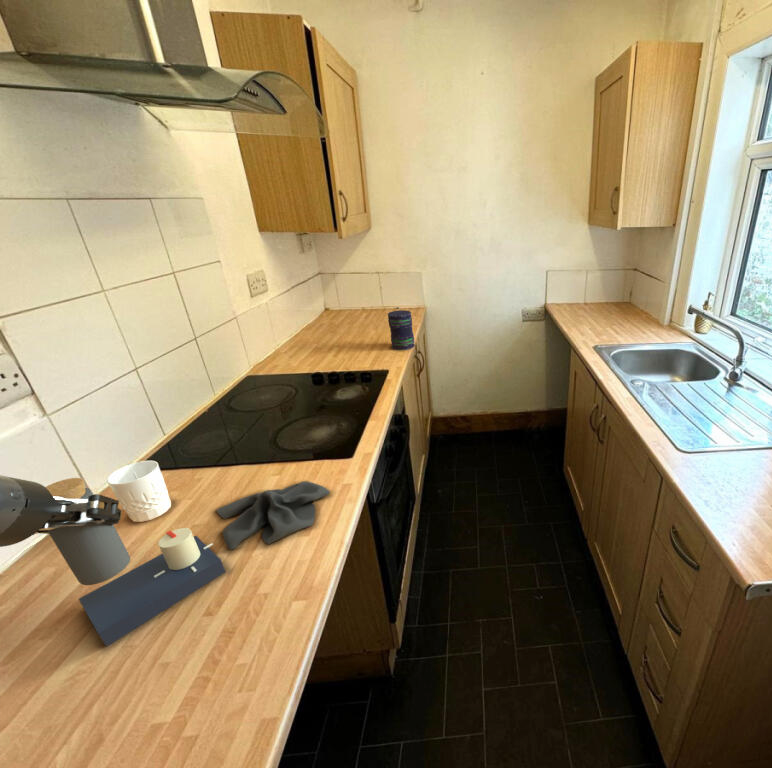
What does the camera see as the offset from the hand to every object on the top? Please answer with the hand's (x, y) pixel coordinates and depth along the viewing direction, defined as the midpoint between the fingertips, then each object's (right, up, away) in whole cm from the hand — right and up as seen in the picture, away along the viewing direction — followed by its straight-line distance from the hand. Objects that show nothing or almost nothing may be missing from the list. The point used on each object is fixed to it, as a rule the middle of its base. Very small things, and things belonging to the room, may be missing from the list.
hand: (90, 521), depth 61 cm
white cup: (-14, -7, +26) cm, 31 cm away
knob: (+6, -10, +10) cm, 16 cm away
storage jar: (+14, +36, +122) cm, 128 cm away
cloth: (+11, -7, +25) cm, 29 cm away
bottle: (+1, -8, +2) cm, 8 cm away
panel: (+3, -14, +8) cm, 17 cm away
